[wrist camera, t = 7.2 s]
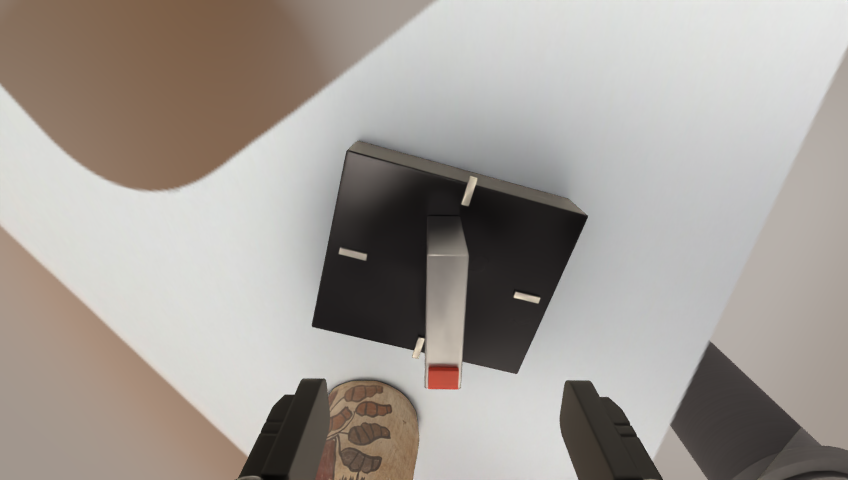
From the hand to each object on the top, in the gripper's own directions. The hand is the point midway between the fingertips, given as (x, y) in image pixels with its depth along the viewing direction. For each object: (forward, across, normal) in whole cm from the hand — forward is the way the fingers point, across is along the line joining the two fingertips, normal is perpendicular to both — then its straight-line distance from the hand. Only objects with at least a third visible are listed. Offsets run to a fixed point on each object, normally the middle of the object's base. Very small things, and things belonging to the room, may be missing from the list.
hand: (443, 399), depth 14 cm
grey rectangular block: (+8, 0, -1) cm, 8 cm away
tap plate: (+11, 0, -1) cm, 11 cm away
